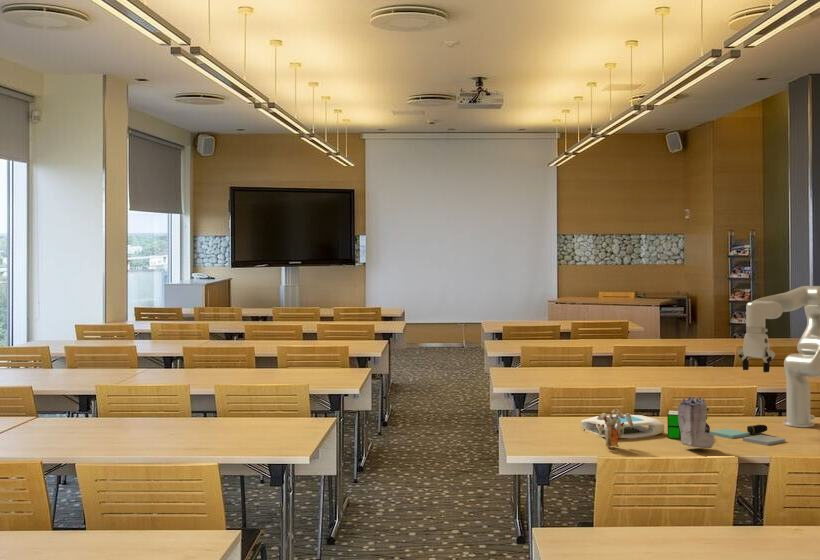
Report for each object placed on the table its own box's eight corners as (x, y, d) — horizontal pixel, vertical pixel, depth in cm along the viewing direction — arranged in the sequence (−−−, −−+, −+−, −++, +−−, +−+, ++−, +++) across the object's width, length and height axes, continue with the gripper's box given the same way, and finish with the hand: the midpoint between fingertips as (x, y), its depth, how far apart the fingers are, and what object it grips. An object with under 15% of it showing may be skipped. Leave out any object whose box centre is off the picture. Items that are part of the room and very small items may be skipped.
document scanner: (580, 431, 349) (580, 417, 349) (634, 427, 358) (634, 413, 358) (608, 440, 329) (608, 425, 329) (665, 435, 339) (665, 420, 339)
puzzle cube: (693, 435, 338) (693, 411, 338) (693, 439, 329) (693, 415, 329) (668, 433, 342) (668, 410, 342) (667, 438, 332) (667, 414, 332)
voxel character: (621, 444, 320) (620, 406, 320) (634, 449, 311) (634, 410, 311) (595, 446, 317) (595, 408, 317) (608, 451, 308) (607, 411, 308)
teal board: (726, 431, 346) (726, 428, 346) (749, 435, 337) (749, 432, 337) (709, 434, 340) (709, 431, 340) (731, 438, 331) (731, 435, 331)
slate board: (760, 437, 333) (760, 434, 333) (785, 442, 324) (785, 439, 324) (742, 440, 326) (742, 437, 326) (767, 445, 317) (767, 442, 317)
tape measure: (769, 432, 336) (767, 423, 337) (756, 434, 334) (754, 425, 334) (757, 433, 343) (755, 424, 343) (744, 435, 340) (742, 426, 341)
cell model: (718, 450, 308) (718, 398, 308) (692, 452, 306) (692, 399, 306) (700, 444, 320) (700, 393, 320) (675, 445, 319) (675, 394, 318)
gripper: (779, 331, 338) (779, 372, 338) (743, 329, 353) (743, 368, 353) (769, 332, 334) (769, 373, 334) (732, 330, 349) (732, 369, 349)
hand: (755, 371), depth 343 cm, fingers open, 9 cm apart
